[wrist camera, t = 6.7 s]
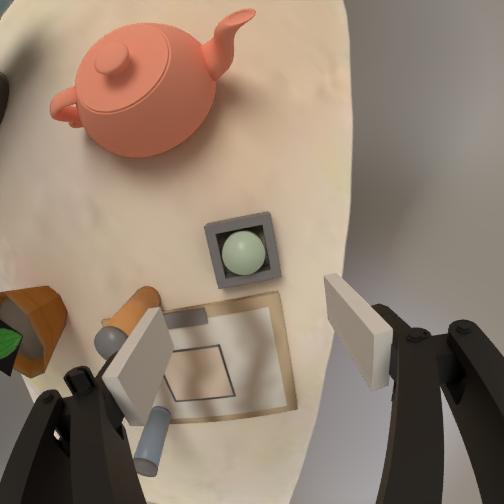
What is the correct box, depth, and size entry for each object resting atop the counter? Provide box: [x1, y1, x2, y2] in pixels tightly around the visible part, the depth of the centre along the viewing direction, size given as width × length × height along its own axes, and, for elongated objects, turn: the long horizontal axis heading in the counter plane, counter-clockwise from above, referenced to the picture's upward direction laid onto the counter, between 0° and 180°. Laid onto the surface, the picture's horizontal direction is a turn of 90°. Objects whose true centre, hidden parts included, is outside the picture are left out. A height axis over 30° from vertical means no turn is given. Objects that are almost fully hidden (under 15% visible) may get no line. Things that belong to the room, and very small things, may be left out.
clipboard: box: [101, 291, 298, 424], centre depth 35 cm, size 24×20×1 cm
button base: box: [204, 211, 282, 289], centre depth 31 cm, size 7×7×2 cm
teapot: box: [50, 9, 256, 158], centre depth 22 cm, size 22×16×12 cm
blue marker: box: [133, 406, 171, 477], centre depth 31 cm, size 4×4×12 cm
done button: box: [222, 229, 265, 275], centre depth 30 cm, size 4×4×3 cm
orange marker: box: [94, 286, 160, 360], centre depth 27 cm, size 4×4×12 cm
